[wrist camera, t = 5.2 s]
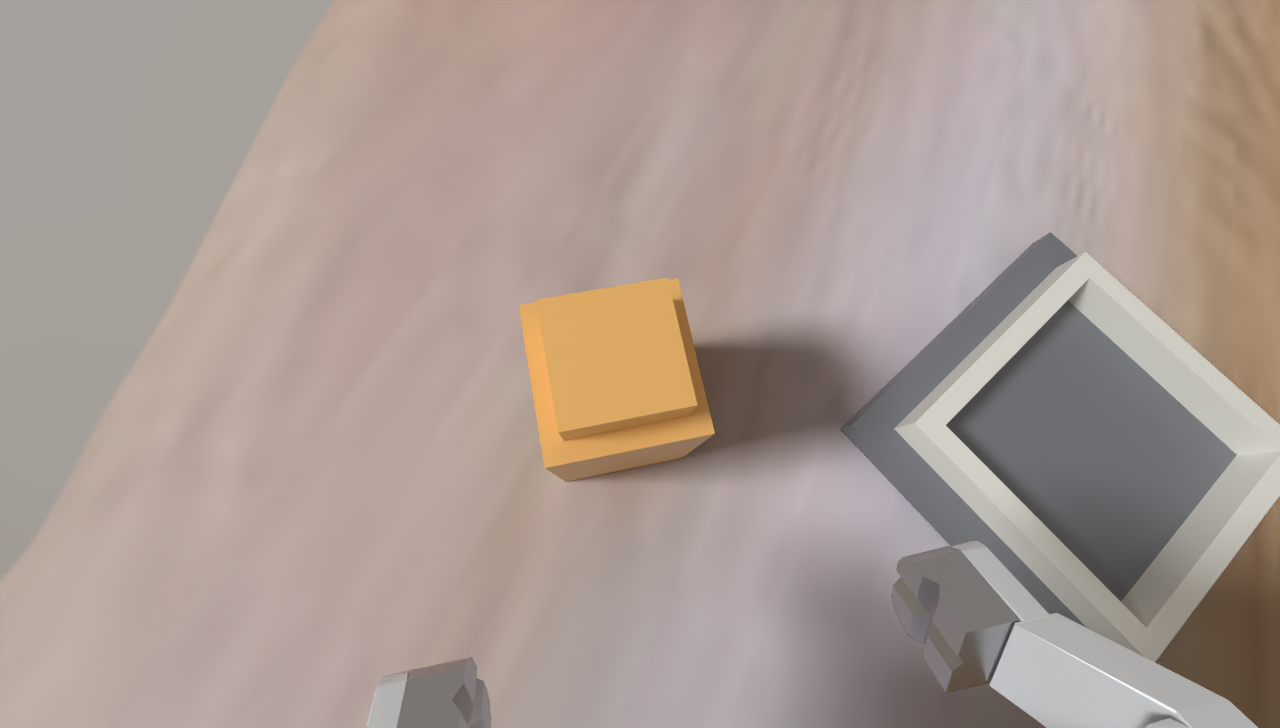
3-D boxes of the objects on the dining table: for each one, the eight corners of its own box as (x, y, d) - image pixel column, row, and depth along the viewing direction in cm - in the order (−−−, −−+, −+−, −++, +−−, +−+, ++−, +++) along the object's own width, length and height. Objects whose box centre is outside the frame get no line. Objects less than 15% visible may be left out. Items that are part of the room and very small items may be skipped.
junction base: (1275, 462, 23) (1354, 456, 20) (1095, 698, 20) (1162, 723, 17) (1033, 243, 25) (1079, 214, 22) (840, 429, 22) (868, 419, 20)
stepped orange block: (681, 457, 21) (727, 424, 13) (565, 481, 21) (536, 463, 13) (657, 347, 23) (685, 253, 14) (546, 367, 22) (508, 282, 14)
